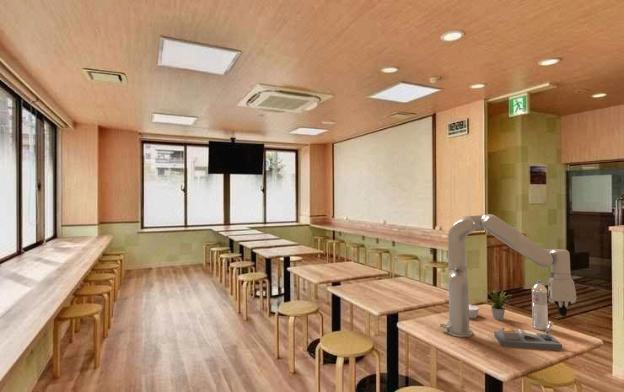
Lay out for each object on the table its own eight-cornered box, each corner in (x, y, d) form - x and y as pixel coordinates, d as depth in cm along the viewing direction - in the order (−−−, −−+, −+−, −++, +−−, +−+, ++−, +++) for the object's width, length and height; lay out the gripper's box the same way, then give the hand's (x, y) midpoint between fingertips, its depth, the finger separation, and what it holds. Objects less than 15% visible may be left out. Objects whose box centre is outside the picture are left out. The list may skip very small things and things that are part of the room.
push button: (505, 337, 167) (505, 331, 167) (502, 334, 171) (502, 327, 171) (515, 338, 166) (515, 332, 166) (512, 334, 170) (512, 328, 170)
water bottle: (550, 331, 180) (549, 282, 179) (535, 330, 181) (534, 282, 181) (544, 326, 186) (543, 279, 186) (530, 325, 188) (529, 279, 188)
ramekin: (483, 317, 202) (483, 308, 202) (468, 320, 198) (468, 311, 198) (468, 311, 212) (468, 302, 212) (453, 314, 208) (453, 305, 208)
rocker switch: (520, 334, 166) (521, 331, 166) (517, 331, 170) (518, 328, 169) (537, 337, 164) (537, 335, 164) (533, 334, 168) (534, 331, 168)
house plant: (507, 325, 188) (506, 295, 188) (480, 319, 198) (479, 290, 198) (516, 318, 198) (515, 290, 198) (490, 313, 208) (489, 285, 208)
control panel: (501, 346, 164) (501, 334, 164) (494, 336, 175) (494, 325, 175) (562, 350, 158) (561, 338, 158) (550, 339, 170) (549, 327, 170)
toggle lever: (544, 336, 164) (550, 321, 164) (542, 334, 166) (548, 319, 166) (548, 337, 164) (554, 323, 163) (547, 336, 166) (552, 321, 165)
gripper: (546, 277, 161) (548, 317, 161) (583, 277, 158) (585, 318, 158) (539, 274, 169) (541, 312, 169) (574, 274, 166) (576, 312, 166)
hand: (562, 315), depth 163 cm, fingers closed
